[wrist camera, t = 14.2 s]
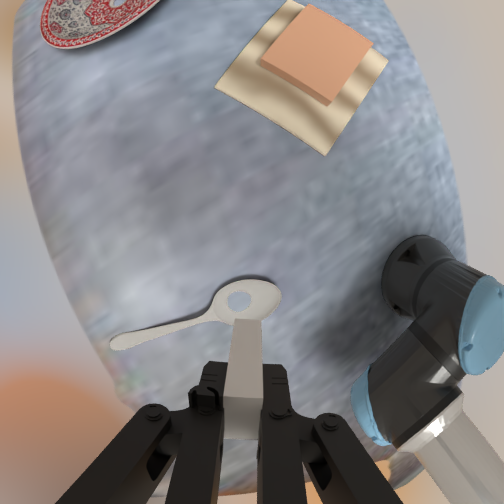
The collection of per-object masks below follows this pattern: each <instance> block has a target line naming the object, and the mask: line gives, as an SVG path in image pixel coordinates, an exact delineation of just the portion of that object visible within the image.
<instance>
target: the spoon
mask: <svg viewBox="0 0 504 504" xmlns="http://www.w3.org/2000/svg"><path fill="white" fill-rule="evenodd" d="M236 291H242V292H246V293H248V294H249V295H250V297H251V303H250V305H249V306H248V307H247V308H246V309H245V310H243V311H241V312H235V311H232V310H231V309H230V308H229V307H228V304H227V300H228V297H229V295H230V294H231V293H233V292H236ZM281 297H282V296H281V292H280V290H279V288H278V287H277V286H275V285H274V284H272V283H269V282H266V281H262V280H255V279H246V280H240V281H236V282H233V283H230V284H228V285H226V286H225V287H223V288H222V289H220V290H219V291H218V292H217V293H216V295H215V297H214V299H213V302H212V305H211V307H210V308H209V310H208V311H207V312H206V313H205V314H203V315H201V316H199V317H197V318H194V319H190V320H186V321H181V322H177V323H172V324H167V325H163V326H158V327H154V328H149V329H144V330H139V331H133V332H125V333H121V334H118V335H116V336H115V337H113V338H112V340H111V342H110V347H111V348H112V349H113V350H116V351H118V350H124V349H129V348H131V347H134V346H136V345H138V344H140V343H143V342H146V341H149V340H152V339H154V338H157V337H160V336H163V335H166V334H169V333H172V332H175V331H178V330H181V329H184V328H187V327H190V326H193V325H196V324H199V323H203V322H207V321H221V322H223V323H226V324H228V325H232V326H234V321H235V318H237V319H254V320H261V321H262V320H264V319H265V318H267V317H268V316H269V315H271V314H272V313H273V312H274V311H275V310H276V308H277V307H278V306H279V304H280V302H281Z"/></svg>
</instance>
